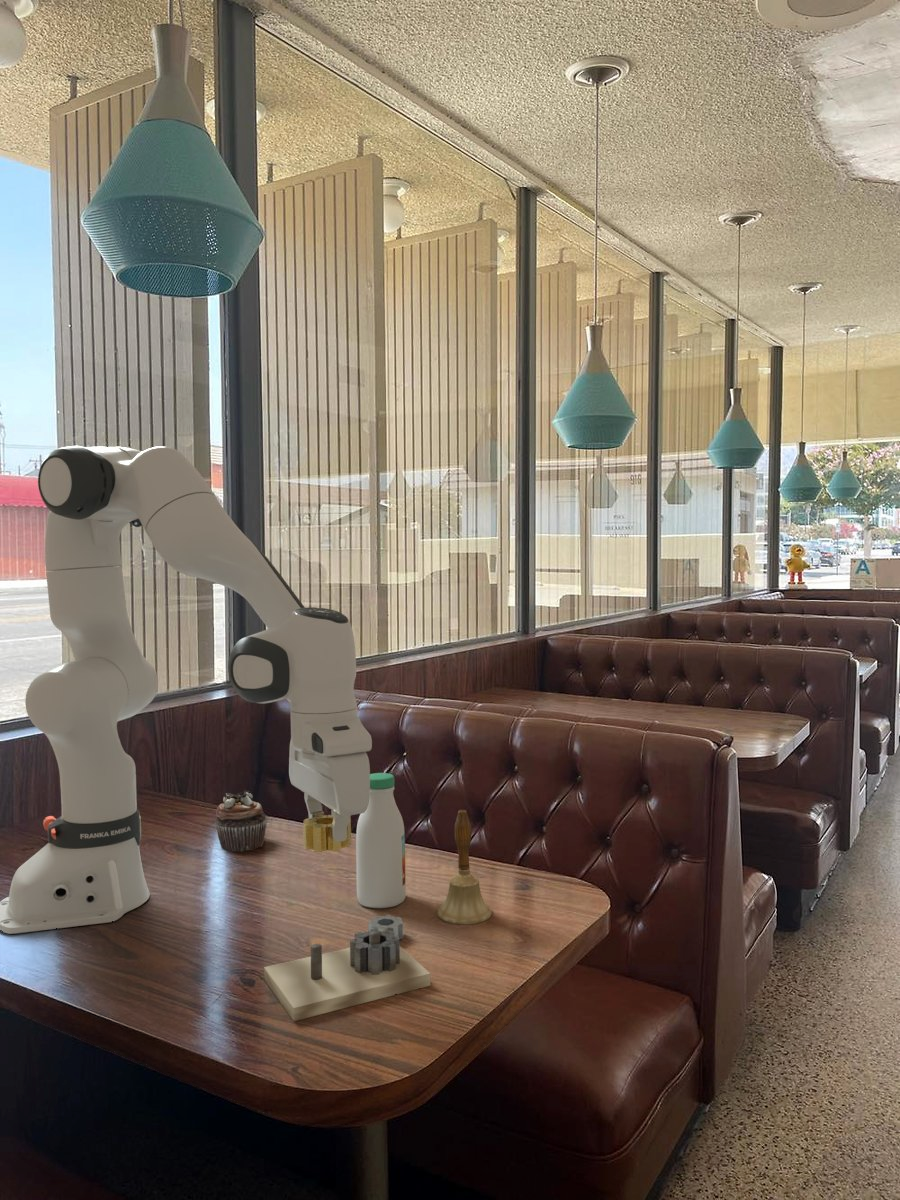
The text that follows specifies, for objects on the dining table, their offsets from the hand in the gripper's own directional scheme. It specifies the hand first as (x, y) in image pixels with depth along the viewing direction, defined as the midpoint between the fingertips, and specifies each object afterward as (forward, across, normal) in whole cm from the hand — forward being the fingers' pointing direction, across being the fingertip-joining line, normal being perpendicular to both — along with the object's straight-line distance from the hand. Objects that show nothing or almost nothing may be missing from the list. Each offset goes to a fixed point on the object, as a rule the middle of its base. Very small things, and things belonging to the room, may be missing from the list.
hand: (327, 832), depth 121 cm
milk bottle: (+18, -16, +15) cm, 28 cm away
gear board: (+18, +6, 0) cm, 19 cm away
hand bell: (+18, -5, +24) cm, 30 cm away
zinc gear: (+18, -3, +10) cm, 20 cm away
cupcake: (+18, -54, +4) cm, 57 cm away
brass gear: (+2, 0, 0) cm, 2 cm away
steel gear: (+16, +7, +4) cm, 18 cm away
